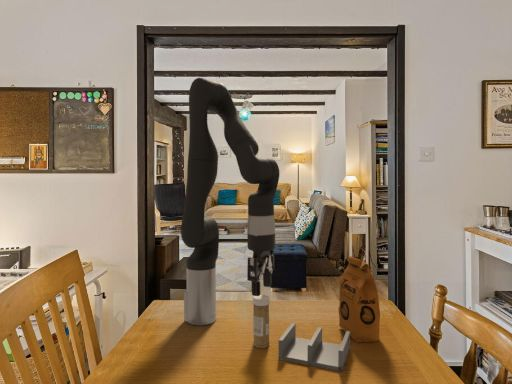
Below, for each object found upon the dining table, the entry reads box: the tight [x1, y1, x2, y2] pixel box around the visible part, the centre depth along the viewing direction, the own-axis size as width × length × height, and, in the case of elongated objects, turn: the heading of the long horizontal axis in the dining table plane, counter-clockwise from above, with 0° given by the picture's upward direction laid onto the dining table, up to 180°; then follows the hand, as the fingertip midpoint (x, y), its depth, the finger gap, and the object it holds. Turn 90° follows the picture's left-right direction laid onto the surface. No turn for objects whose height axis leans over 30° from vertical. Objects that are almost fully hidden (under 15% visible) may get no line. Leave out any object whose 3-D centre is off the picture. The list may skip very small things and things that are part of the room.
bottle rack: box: [277, 322, 351, 372], centre depth 99 cm, size 16×12×5 cm
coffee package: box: [337, 256, 381, 343], centre depth 111 cm, size 10×12×22 cm
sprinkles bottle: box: [252, 294, 270, 349], centre depth 104 cm, size 5×5×13 cm
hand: (261, 290), depth 104 cm, fingers open, 8 cm apart
